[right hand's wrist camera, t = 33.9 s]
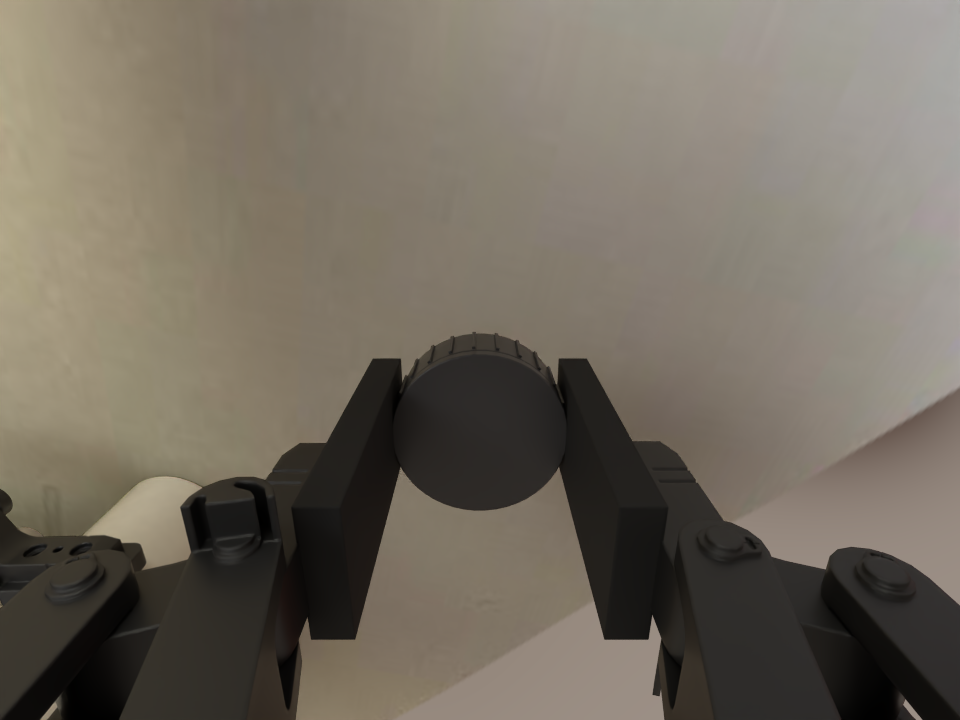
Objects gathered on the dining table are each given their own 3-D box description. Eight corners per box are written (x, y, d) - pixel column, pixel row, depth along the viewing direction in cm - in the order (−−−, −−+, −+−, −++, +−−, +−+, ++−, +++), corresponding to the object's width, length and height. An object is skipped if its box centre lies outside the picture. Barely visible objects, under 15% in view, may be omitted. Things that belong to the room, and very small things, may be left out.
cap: (526, 493, 15) (532, 531, 14) (381, 451, 15) (369, 485, 13) (585, 360, 14) (598, 385, 12) (425, 308, 13) (418, 327, 12)
